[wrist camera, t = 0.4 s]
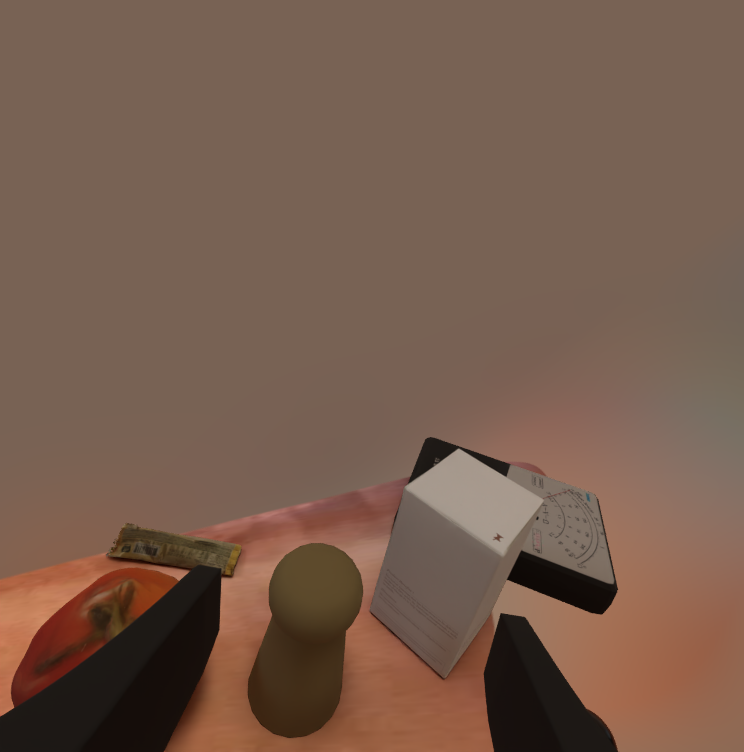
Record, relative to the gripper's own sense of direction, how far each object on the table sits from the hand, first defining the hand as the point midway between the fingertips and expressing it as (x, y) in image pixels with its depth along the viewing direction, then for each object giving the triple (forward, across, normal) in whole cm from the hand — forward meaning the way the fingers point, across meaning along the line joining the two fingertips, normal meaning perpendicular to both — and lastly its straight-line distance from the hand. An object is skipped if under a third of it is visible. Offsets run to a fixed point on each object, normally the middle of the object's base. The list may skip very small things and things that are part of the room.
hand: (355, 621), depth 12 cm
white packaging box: (+20, -6, +19) cm, 28 cm away
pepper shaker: (+13, +3, +19) cm, 23 cm away
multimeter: (+31, -13, +18) cm, 38 cm away
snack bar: (+18, +14, +16) cm, 28 cm away
